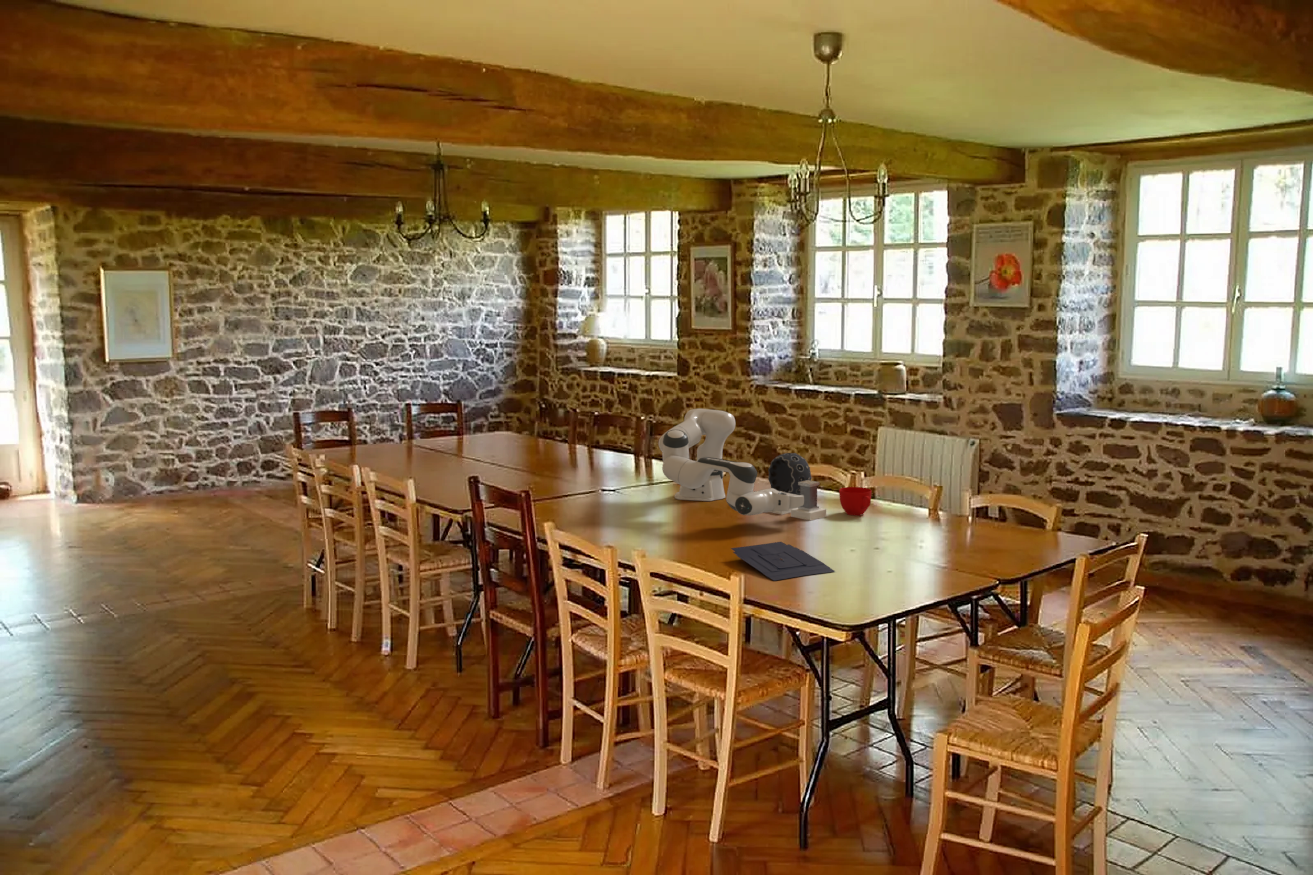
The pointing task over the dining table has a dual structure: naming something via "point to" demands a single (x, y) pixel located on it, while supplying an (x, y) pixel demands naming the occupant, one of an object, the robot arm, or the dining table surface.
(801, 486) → the housing
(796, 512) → the stand
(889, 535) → the dining table surface
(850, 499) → the ceramic cup
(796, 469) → the dark grey rounded piece
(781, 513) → the stand
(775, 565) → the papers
